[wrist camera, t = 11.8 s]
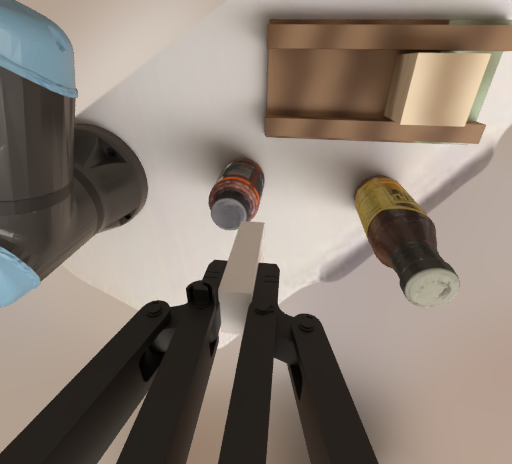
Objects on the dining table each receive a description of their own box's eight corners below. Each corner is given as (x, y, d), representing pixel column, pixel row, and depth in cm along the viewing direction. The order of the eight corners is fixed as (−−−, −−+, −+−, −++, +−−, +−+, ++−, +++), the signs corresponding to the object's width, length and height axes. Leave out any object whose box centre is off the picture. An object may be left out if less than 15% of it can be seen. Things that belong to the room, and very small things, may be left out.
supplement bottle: (217, 163, 40) (192, 196, 30) (257, 152, 38) (245, 182, 29) (231, 202, 42) (213, 242, 33) (270, 192, 41) (262, 232, 31)
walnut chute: (266, 135, 37) (264, 140, 34) (270, 20, 31) (268, 16, 28) (462, 142, 35) (476, 149, 32) (508, 21, 29) (529, 16, 26)
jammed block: (383, 115, 33) (400, 124, 28) (397, 54, 30) (418, 52, 25) (437, 116, 33) (464, 126, 28) (457, 55, 30) (491, 53, 25)
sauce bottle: (409, 195, 39) (500, 297, 22) (370, 223, 42) (423, 332, 25) (380, 161, 37) (454, 244, 20) (341, 192, 40) (377, 289, 23)
